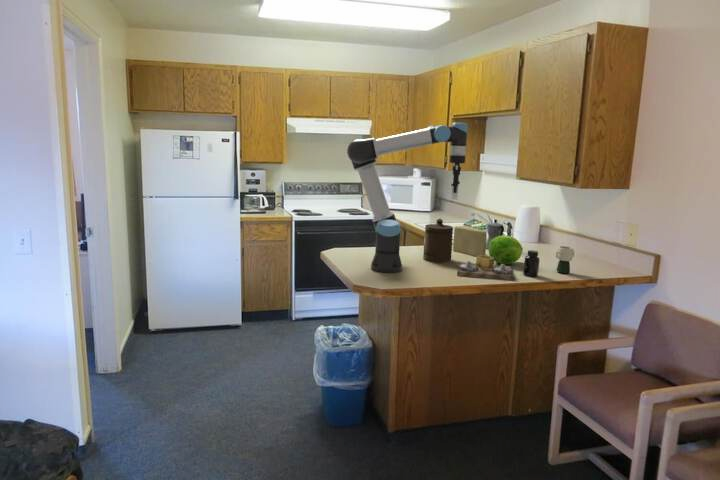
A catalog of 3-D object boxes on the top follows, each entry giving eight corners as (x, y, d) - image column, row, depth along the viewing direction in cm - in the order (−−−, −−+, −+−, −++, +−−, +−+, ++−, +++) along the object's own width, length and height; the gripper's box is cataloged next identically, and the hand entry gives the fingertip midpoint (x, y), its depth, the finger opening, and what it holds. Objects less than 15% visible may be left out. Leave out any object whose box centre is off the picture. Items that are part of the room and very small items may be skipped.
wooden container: (437, 255, 285) (439, 216, 281) (456, 260, 274) (459, 220, 269) (417, 258, 277) (419, 217, 272) (436, 264, 265) (439, 222, 261)
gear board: (457, 275, 243) (458, 263, 242) (457, 265, 263) (458, 254, 261) (513, 280, 238) (515, 267, 237) (510, 270, 258) (511, 258, 257)
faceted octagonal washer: (476, 268, 250) (476, 258, 249) (475, 264, 258) (476, 254, 257) (493, 269, 248) (494, 259, 247) (492, 265, 256) (493, 256, 255)
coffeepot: (480, 247, 312) (482, 218, 309) (493, 246, 316) (496, 217, 312) (494, 252, 298) (497, 222, 295) (508, 252, 301) (511, 221, 298)
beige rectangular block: (491, 257, 285) (493, 231, 282) (477, 259, 280) (479, 232, 277) (465, 249, 304) (467, 224, 301) (452, 250, 299) (453, 225, 296)
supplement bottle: (520, 274, 249) (522, 250, 247) (527, 272, 254) (529, 249, 252) (533, 277, 245) (536, 253, 242) (540, 275, 249) (543, 251, 247)
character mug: (566, 270, 262) (569, 245, 259) (576, 274, 255) (579, 248, 253) (549, 271, 258) (552, 246, 256) (558, 275, 252) (562, 249, 249)
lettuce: (527, 269, 271) (535, 242, 267) (500, 268, 261) (507, 240, 257) (505, 258, 285) (512, 232, 281) (478, 258, 275) (485, 231, 271)
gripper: (465, 155, 239) (462, 201, 243) (465, 154, 263) (462, 196, 267) (449, 155, 240) (446, 200, 244) (450, 154, 264) (447, 195, 268)
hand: (454, 198), depth 256 cm, fingers open, 13 cm apart
